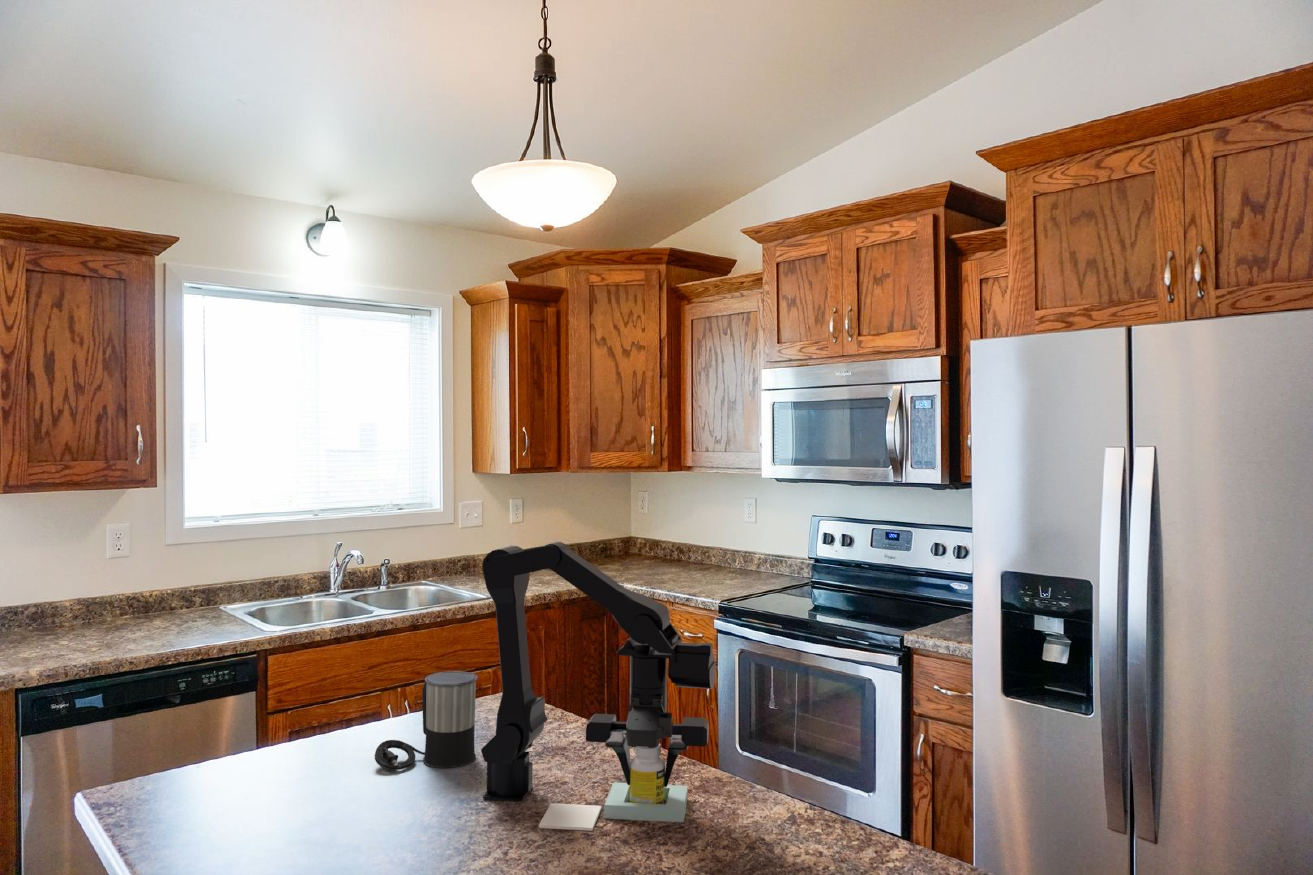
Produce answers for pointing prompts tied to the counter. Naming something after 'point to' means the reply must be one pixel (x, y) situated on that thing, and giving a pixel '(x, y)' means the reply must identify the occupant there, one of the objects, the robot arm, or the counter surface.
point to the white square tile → (570, 817)
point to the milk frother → (441, 724)
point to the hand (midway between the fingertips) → (647, 785)
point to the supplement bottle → (647, 776)
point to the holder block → (646, 805)
